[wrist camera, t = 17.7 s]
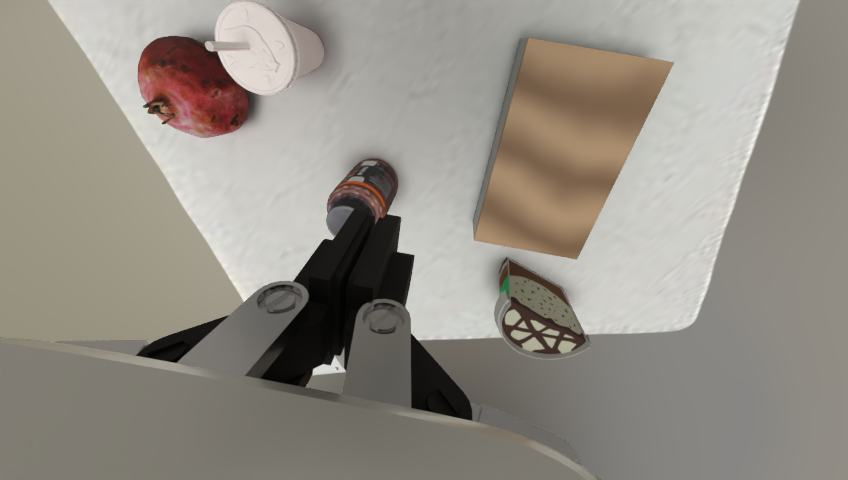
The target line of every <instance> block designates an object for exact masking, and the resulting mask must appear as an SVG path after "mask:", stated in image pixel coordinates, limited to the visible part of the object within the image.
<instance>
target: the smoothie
mask: <svg viewBox="0 0 848 480" xmlns="http://www.w3.org/2000/svg"><path fill="white" fill-rule="evenodd" d="M205 47H206V48H207V50H209V51H217V52H218V55H219V58H220V60H221V62H222V64H223V66H224V68H225V69H226V71H227V72H228V73H229V75H230V76H231V77H232V78H233V79H234V80H235V81H236V82H237V83H238V84H239V85H240V86H242V87H243V88H245V89H246V90H248V91H250V92H253V93H256V94H260V95H273V94H279V93H282V92H285V91H286V90H287V89H288V88H290V87H291V86H292V85H293V83H294V82H295V80H297V79H299V78H300V77H302V76H304V75H306V74H307V73H309V72H311V71H313V70H315V69H316V68H318V67H319V66H320V65H321V64H322V62H323V59H324V47H323V44H322V41H321V40H320V38H319V37H318V35H317V34H316V33H314V32H313V31H311V30H309V29H307V28H305V27H303V26H301V25H298V24H296V23H294V22H292V21H289V20H287V19H285V18H283V17H281V16H280V15H279V14H278V13H277V12H276V11H275V10H273V9H272V8H270V7H268V6H267V5H265V4H262V3H258V2H255V1H237V2H234V3H231V4H229V5H228V6H226V7H225V8H224V9H223V10H222V12H221V13H220V15H219V17H218V19H217V22H216V26H215V41H207V42H206V43H205Z"/></svg>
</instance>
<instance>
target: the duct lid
mask: <svg viewBox="0 0 848 480" xmlns="http://www.w3.org/2000/svg"><path fill="white" fill-rule="evenodd" d="M673 64H674V62H668V61H662V60H657V59H651V58H645V57H639V56H633V55H627V54H621V53H615V52H610V51H604V50H598V49H592V48H586V47H580V46H574V45H569V44H563V43H557V42H551V41H545V40H539V39H533V38H527V41H526V44H525V48H524V52H523V56H522V59H521V63H520V67H519V70H518V74H517V78H516V82H515V85H514V89H513V93H512V96H511V100H510V104H509V108H508V111H507V115H506V119H505V123H504V126H503V130H502V134H501V137H500V141H499V145H498V149H497V152H496V156H495V160H494V163H493V167H492V171H491V175H490V178H489V182H488V186H487V189H486V193H485V197H484V201H483V204H482V208H481V212H480V216H479V219H478V223H477V227H476V230H475V234H474V240H475V241H480V242H486V243H491V244H496V245H502V246H507V247H513V248H518V249H523V250H529V251H534V252H540V253H545V254H550V255H556V256H561V257H567V258H572V259H577V258H578V256H579V254H580V252H581V250H582V248H583V246H584V244H585V242H586V240H587V238H588V236H589V234H590V232H591V230H592V228H593V226H594V224H595V222H596V220H597V218H598V216H599V214H600V212H601V210H602V208H603V206H604V204H605V202H606V200H607V197H608V195H609V193H610V191H611V189H612V187H613V185H614V183H615V181H616V179H617V177H618V175H619V173H620V171H621V169H622V167H623V165H624V163H625V161H626V159H627V157H628V155H629V153H630V151H631V149H632V147H633V145H634V143H635V141H636V139H637V137H638V135H639V133H640V131H641V129H642V127H643V125H644V123H645V121H646V119H647V117H648V115H649V112H650V110H651V108H652V106H653V104H654V102H655V100H656V98H657V96H658V94H659V92H660V90H661V88H662V86H663V84H664V82H665V80H666V78H667V76H668V74H669V72H670V70H671V68H672V66H673Z"/></svg>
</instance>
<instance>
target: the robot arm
mask: <svg viewBox="0 0 848 480" xmlns="http://www.w3.org/2000/svg"><path fill="white" fill-rule="evenodd" d="M400 223H401V217H399V216H393V215H388V214H385V216H384V218H382V217H379V218H378V220H377V222H376V224H375V216H371V214H370V211H365V210H360V209H354V210H353V211H352V213H351V214H350V216H349V217H348V218H347V220H346V221H345V223H344V224H343V226H342V227H341V229H340V230H339V232H338V233H337V235H336V236H335V238H334V239H333V240H328V239H324V240H323V241H322V242H321V244H320V245H319V247H318V248H317V249H316V251H315V252H314V253H313V255H312V256H311V258H310V259H309V260H308V262H307V263H306V264H305V266H304V267H303V269H302V270H301V271H300V273H299V274H298V276H297V277H296V278H295V280H294V281H293V282H291V281H279V282H274V283H270V284H268V285H265V286H263V287H262V288H260V289H259V290H257V291H256V292H255V293H254V294H253V295H252V296H250V297H249V298H248V299H247V300H246V301H245V302H244V303H243V304H242V305H240V306H239V307H238V308H237V309H236V310H235V311H234V312H233V313H231V315H228V316H225V317H222V318H219V319H216V320H213V321H210V322H207V323H204V324H201V325H199V326H195V327H193V328H189V329H186V330H183V331H180V332H178V333H174V334H171V335H168V336H166V337H163V338H161V339H159V340H156V341H154V342H152V343H151V344H148V342H147V340H114V341H113V340H112V341H111V340H110V341H59V342H49V341H40V340H32V339H20V338H3V337H0V480H601V479H599V478H598V477H597V476H596V475H594V474H593V473H592V472H590V471H589V470H587V469H586V468H585V467H583V466H582V464H581V460H580V459H579V457H578V455H577V453H576V452H575V450H574V449H573V448H572V447H571V446H570V445H569V444H568V443H567V441H565V440H564V439H562V438H561V437H559V436H557V435H556V434H554V433H551V432H549V431H547V430H544V429H542V428H539V427H537V426H535V425H532V424H530V423H528V422H525V421H523V420H521V419H518V418H516V417H513V416H511V415H509V414H506V413H504V412H502V411H499V410H497V409H494V408H492V407H490V406H488V405H485V404H483V405H482V407H479V406H477V405H474V404H472V403H470V402H469V400H468V398H467V397H466V395H465V394H464V392H463V391H462V390H461V389H460V388H459V387H458V386H457V385H456V383H455V382H454V381H453V380H452V379H451V378H450V377H449V375H448V374H447V373H446V372H445V371H444V370H443V369H442V368H441V366H440V365H439V364H438V363H437V362H436V361H435V360H434V358H433V357H432V356H431V355H430V354H429V353H428V352H427V351H426V350H425V349H424V347H423V346H422V345H421V344H420V343H419V342H418V340H417V339H416V338H415V337H414V336H413V335H412V334H411V319H410V314H409V312H408V311H407V309H406V308H405V305H406V301H407V296H408V291H409V286H410V281H411V275H412V269H413V263H414V255H410V254H405V253H400V252H397V248H398V240H399V231H400ZM343 349H344V369H345V371H346V376H345V381H344V386H343V392H342V394H337V393H332V392H326V391H321V390H316V389H311V388H306V385H307V384H308V382H309V380H310V379H311V376H312V374H313V369H314V368H316V367H318V366H320V365H322V364H325V365H330V366H331V364H332V361H333V359H334V356H335V355H336V356H340V355H341V354H342V351H343Z"/></svg>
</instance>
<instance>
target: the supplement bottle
mask: <svg viewBox="0 0 848 480" xmlns="http://www.w3.org/2000/svg"><path fill="white" fill-rule="evenodd" d="M397 188H398V181H397V177H396V175H395V173H394V171H393V170H392V169H391V167H390V166H388V165H387V164H386V163H384V162H382V161H379V160H374V159H369V160H364V161H362V162H360V163H359V164H357V165H356V166H355V167H354V168H353V169H352V170H351V171H350V173H349V174H348V175H347V176H346V177H345V178H344V179H343V180H342V182H341V183H340V184H339V185H338V186H337V187H336V188H335V189H334V191H333V192H332V193H331V195H330V196H329V199H328V203H327V212H328V215H327V219H326V222H327V226H328V229H329V231H330V232H331V233H332V235H334V236H336V235H337V233H338V232H339V230H340V229H341V227H342V226H343V224H344V223H345V221H346V220H347V218H348V217H349V216H350V214H351V213H352V211H353V210H354V209H360V210H365V211H370V214H371V216H375V224H376V222H377V220H378V218H379V217H382V218H384V216H385V214H387V212H388V210H389V208H390V206H391V204H392V201H393V199H394V197H395V195H396V192H397Z"/></svg>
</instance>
